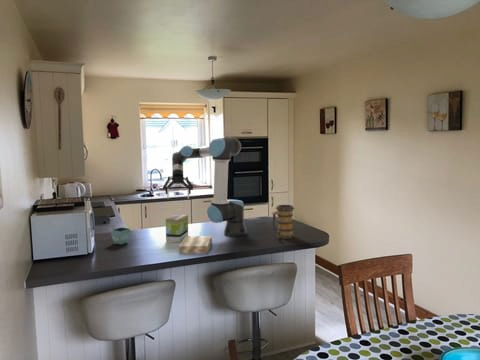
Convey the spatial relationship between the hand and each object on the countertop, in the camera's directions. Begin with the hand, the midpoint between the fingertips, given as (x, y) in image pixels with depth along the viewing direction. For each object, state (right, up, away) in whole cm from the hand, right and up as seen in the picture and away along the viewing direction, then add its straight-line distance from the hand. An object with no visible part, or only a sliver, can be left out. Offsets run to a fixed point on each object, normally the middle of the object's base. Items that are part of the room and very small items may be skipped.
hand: (178, 197), depth 249 cm
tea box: (+1, -27, -9) cm, 28 cm away
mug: (+69, -25, -9) cm, 74 cm away
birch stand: (+15, -28, -28) cm, 43 cm away
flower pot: (-33, -28, -16) cm, 46 cm away
